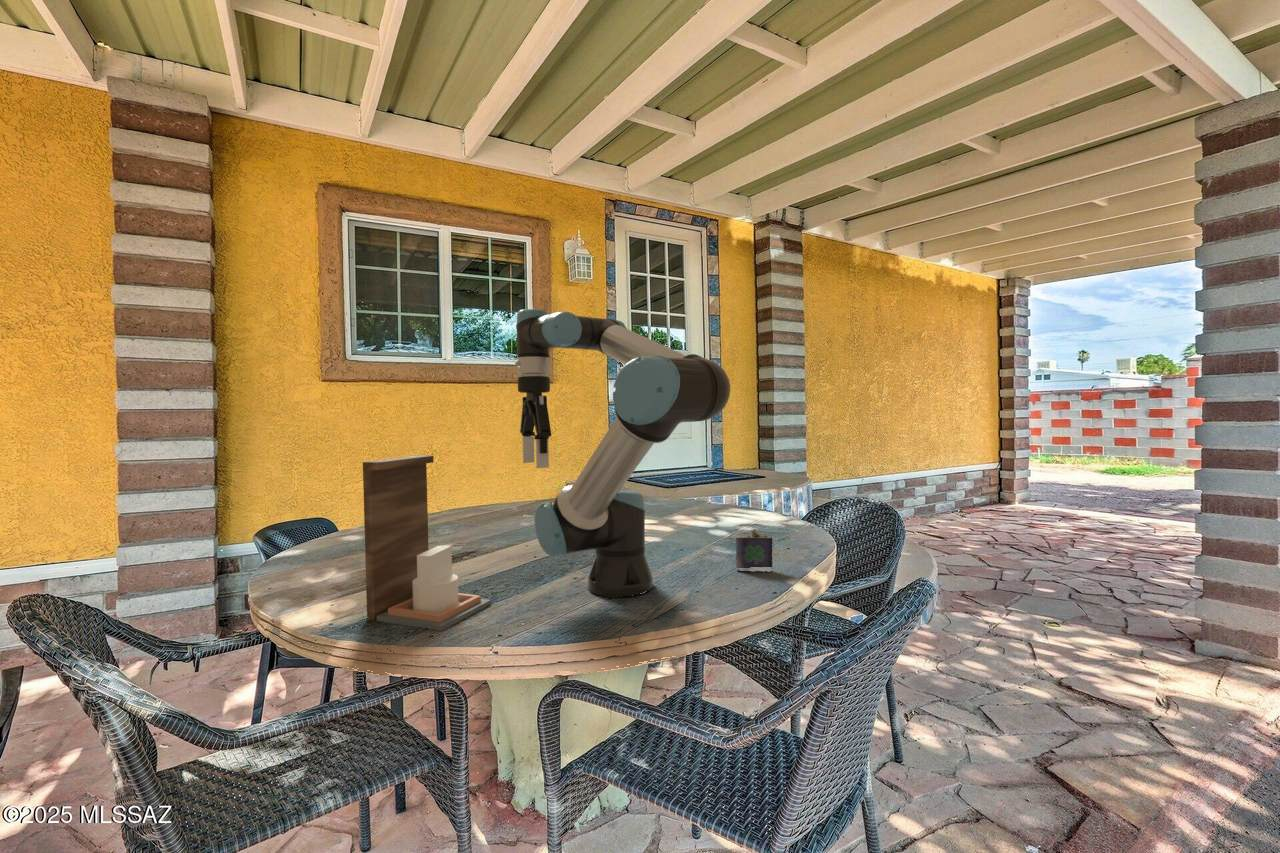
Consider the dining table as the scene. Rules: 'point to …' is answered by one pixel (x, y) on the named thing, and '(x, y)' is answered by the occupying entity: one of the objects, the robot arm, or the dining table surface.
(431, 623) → the square coaster tray
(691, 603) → the dining table surface
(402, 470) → the brown wooden panel
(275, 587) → the dining table surface
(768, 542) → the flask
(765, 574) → the dining table surface
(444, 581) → the cylinder with rectangular tab
